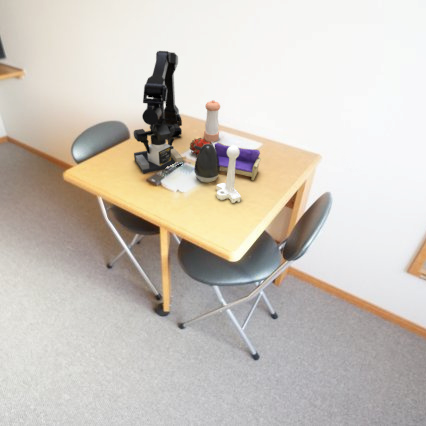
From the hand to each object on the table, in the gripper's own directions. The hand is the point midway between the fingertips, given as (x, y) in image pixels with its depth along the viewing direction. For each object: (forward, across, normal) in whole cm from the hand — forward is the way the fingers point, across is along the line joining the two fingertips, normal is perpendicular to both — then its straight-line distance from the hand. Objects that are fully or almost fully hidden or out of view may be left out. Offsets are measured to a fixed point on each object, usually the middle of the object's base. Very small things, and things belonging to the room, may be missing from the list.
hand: (159, 151), depth 134 cm
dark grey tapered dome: (+6, +13, -19) cm, 24 cm away
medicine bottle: (+5, 0, 0) cm, 5 cm away
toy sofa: (+6, +26, -18) cm, 32 cm away
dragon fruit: (+6, +21, +2) cm, 22 cm away
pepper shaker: (+6, +33, +15) cm, 37 cm away
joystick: (+6, +14, -33) cm, 36 cm away
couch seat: (+6, 0, +1) cm, 6 cm away
